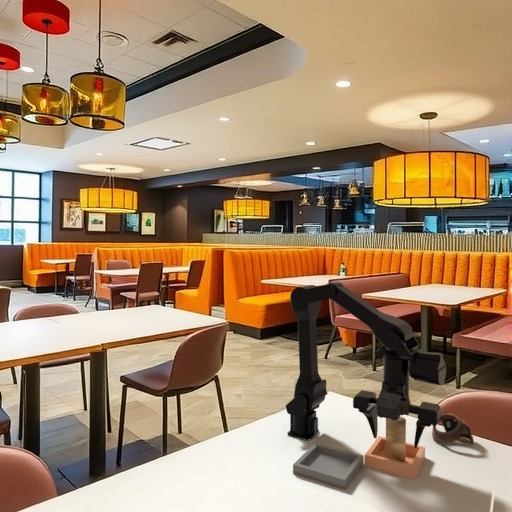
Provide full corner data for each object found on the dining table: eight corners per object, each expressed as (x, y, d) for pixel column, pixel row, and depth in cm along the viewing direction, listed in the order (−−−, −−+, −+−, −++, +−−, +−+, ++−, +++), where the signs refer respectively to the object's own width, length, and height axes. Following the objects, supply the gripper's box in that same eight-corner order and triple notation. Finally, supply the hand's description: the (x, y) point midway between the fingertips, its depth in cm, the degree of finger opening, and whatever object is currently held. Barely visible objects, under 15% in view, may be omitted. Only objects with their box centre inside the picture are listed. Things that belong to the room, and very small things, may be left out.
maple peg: (383, 462, 102) (383, 420, 102) (388, 454, 106) (388, 413, 105) (402, 468, 100) (403, 424, 99) (407, 459, 104) (407, 417, 103)
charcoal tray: (293, 475, 98) (293, 464, 98) (315, 452, 108) (315, 442, 108) (344, 491, 92) (345, 480, 91) (363, 466, 102) (363, 455, 102)
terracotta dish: (364, 467, 101) (364, 454, 101) (378, 447, 110) (378, 436, 110) (414, 481, 95) (415, 467, 95) (424, 459, 105) (425, 446, 105)
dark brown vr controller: (483, 453, 109) (471, 428, 107) (446, 466, 111) (433, 441, 109) (464, 421, 120) (453, 397, 118) (431, 433, 122) (419, 410, 120)
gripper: (345, 379, 100) (344, 446, 101) (432, 394, 90) (431, 469, 91) (360, 366, 109) (360, 428, 110) (441, 379, 100) (440, 447, 101)
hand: (395, 442), depth 103 cm, fingers open, 9 cm apart
